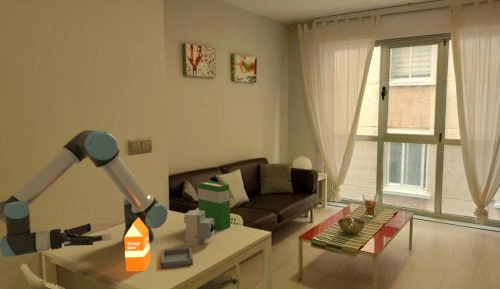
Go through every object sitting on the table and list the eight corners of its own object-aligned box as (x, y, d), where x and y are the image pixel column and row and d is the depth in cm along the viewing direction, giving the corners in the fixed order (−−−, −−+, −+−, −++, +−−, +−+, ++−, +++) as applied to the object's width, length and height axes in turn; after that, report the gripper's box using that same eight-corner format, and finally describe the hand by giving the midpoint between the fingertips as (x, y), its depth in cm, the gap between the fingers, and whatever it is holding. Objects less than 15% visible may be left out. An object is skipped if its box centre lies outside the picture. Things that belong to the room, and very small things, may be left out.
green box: (199, 224, 208) (197, 182, 206) (209, 221, 214) (207, 180, 211) (220, 230, 197) (219, 186, 194) (230, 227, 202) (228, 184, 200)
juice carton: (126, 271, 151) (122, 224, 149) (132, 262, 160) (129, 217, 157) (145, 270, 151) (142, 223, 149) (150, 261, 160) (148, 217, 157)
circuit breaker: (213, 246, 175) (212, 215, 173) (185, 244, 178) (183, 214, 176) (217, 240, 182) (216, 211, 181) (190, 239, 185) (189, 210, 184)
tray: (162, 255, 166) (162, 250, 166) (191, 252, 168) (191, 247, 168) (161, 268, 152) (161, 262, 152) (192, 265, 155) (192, 259, 154)
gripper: (51, 239, 150) (106, 231, 160) (49, 261, 128) (113, 250, 138) (50, 221, 150) (105, 214, 159) (47, 240, 127) (112, 230, 137)
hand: (109, 230), depth 148 cm, fingers open, 13 cm apart
